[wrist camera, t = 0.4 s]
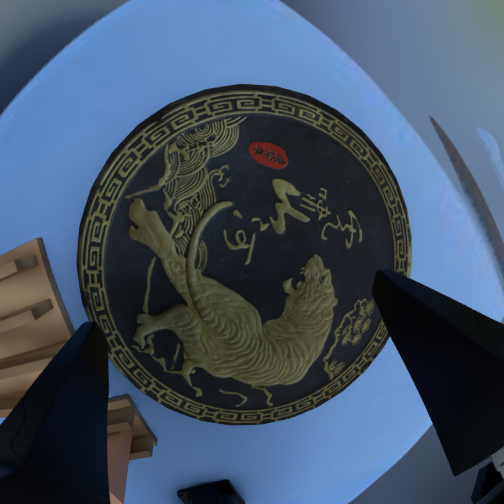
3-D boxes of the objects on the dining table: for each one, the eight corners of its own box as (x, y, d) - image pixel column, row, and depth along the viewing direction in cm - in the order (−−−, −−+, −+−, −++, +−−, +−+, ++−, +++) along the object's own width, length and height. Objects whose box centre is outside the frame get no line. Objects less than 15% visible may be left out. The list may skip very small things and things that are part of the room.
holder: (157, 440, 22) (156, 461, 19) (65, 453, 20) (58, 471, 17) (128, 394, 21) (122, 414, 18) (34, 411, 19) (23, 428, 16)
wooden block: (132, 433, 21) (123, 504, 12) (62, 443, 19) (39, 502, 10) (123, 419, 20) (109, 491, 12) (52, 430, 19) (25, 488, 10)
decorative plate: (183, 32, 18) (444, 192, 25) (182, 43, 20) (432, 193, 27) (39, 357, 18) (330, 443, 25) (47, 349, 20) (323, 434, 27)
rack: (104, 389, 21) (93, 418, 16) (7, 406, 18) (-10, 428, 14) (41, 237, 19) (14, 240, 14) (-47, 283, 16) (-73, 292, 11)
